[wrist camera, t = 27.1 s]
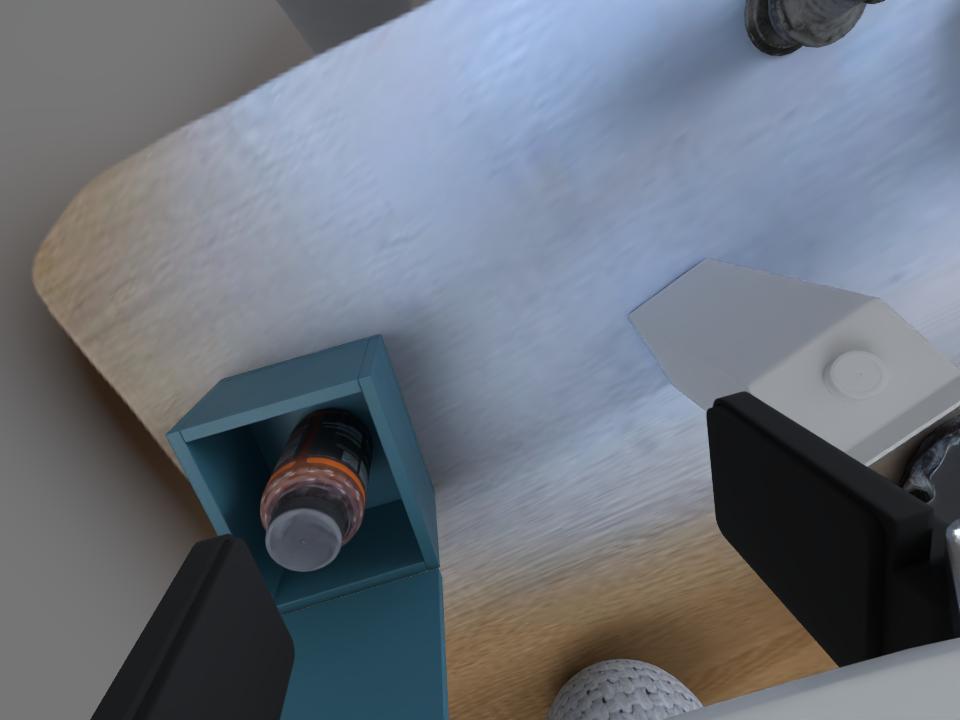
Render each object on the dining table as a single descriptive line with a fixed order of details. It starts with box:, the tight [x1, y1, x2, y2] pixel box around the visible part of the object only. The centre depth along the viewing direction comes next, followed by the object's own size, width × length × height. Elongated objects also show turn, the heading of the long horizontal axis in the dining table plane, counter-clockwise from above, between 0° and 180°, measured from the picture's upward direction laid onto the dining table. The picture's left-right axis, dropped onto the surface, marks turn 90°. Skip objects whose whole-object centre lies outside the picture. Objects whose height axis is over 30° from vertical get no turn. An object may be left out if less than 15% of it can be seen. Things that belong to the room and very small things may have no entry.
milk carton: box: [628, 258, 960, 467], centre depth 31 cm, size 7×7×19 cm
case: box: [166, 334, 440, 615], centre depth 35 cm, size 14×12×9 cm
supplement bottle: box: [260, 410, 372, 572], centre depth 33 cm, size 6×6×11 cm
